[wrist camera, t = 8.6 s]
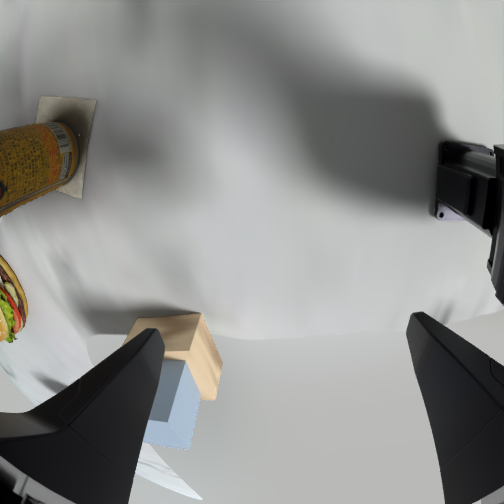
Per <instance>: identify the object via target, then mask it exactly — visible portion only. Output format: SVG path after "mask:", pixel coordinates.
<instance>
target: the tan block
mask: <svg viewBox="0 0 504 504" xmlns="http://www.w3.org/2000/svg"><path fill="white" fill-rule="evenodd" d="M146 328H157V329H158V330H159V332H160V334H161V336H162V339H163V341H164V344H165V353H164V358H163V360H174V361H186V362H187V365H188V367H189V369H190V371H191V374H192V376H193V378H194V380H195V383H196V385H197V387H198V389H199V391H200V394H201V399H200V400H216V395H217V390H218V385H219V379H220V374H221V368H222V363H223V362H222V360H221V357H220V355H219V353H218V350H217V348H216V345H215V343H214V340H213V338H212V336H211V334H210V333H209V330H208V328H207V325H206V323H205V320H204V318H203V315H202V313H197V314H186V315H175V316H163V317H150V318H138V319H137V320H136V322H135V324H134V326H133V327H132V329H131V331H130V333H129V334H128V336H127V338H126V340H125V341H124V343H123V345H124V344H126V343H127V342H128V341H130V340H131V339H132V338H134V337H135V336H136V335H138V334H139V333H140V332H142V331H143V330H144V329H146ZM123 345H122V346H123Z"/></svg>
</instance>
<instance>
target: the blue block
mask: <svg viewBox="0 0 504 504" xmlns="http://www.w3.org/2000/svg"><path fill="white" fill-rule="evenodd" d="M200 399H201V394H200V391H199V389H198V387H197V385H196V383H195V380H194V378H193V376H192V374H191V371H190V369H189V367H188V365H187V362H186V361H174V360H163V364H162V369H161V375H160V380H159V385H158V389H157V392H156V396H155V399H154V402H153V406H152V409H151V413H150V417H149V420H148V424H147V427H146V431H145V435H144V439H143V442H144V443H149V444H155V445H159V446H166V447H172V448H179V449H186V450H189V449H190V445H191V440H192V435H193V430H194V426H195V421H196V417H197V412H198V407H199V403H200Z"/></svg>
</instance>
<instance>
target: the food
mask: <svg viewBox="0 0 504 504" xmlns="http://www.w3.org/2000/svg"><path fill="white" fill-rule="evenodd" d="M27 315H28V308H27V302H26V298H25V295H24V292H23V290H22V288H21V286H20V284H19V282H18V280H17V278H16V276H15V274H14V273H13V271H12V270H11V269H10V267H9V266H8V264H7V263H6V262H5V261H4V260H3V259H2V257H1V256H0V342H1V341H3V340H6V341H8V342H9V343H11V342H13V339H12V338H14V340H16V339H17V338H15V335H14V334H16V333H17V332H21V330H22V328H23V327H24V326H25V323H26V318H27Z"/></svg>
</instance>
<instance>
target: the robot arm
mask: <svg viewBox="0 0 504 504" xmlns="http://www.w3.org/2000/svg"><path fill="white" fill-rule="evenodd" d="M444 145H446V149H444ZM489 153H490V155H489ZM494 154H495V157H494ZM440 213H442V214H441V216H439V214H440ZM435 218H436V219H438V220H439V221H466V220H467V221H468V222H470V223H471V224H473V225H474V226H475V227H477V228H478V229H480V230H481V231H483V232H484V233H485V234H487V235H488V236H489V237H491V238H492V244H491V251H490V258H489V259H488V262H487V268H488V270H489V272H490V274H491V281H492V283H493V285H494V288H495V290H496V294H495V296H496V297H497V299H498V300H499V301H500V302H501V303H502V305H503V306H504V145H494V152H493V150H492V149H489V148H484V147H479V146H474V145H469V144H463V143H457V142H450V141H441V142H440V144H439V167H438V175H437V190H436V206H435ZM406 336H407V339H408V344H409V348H410V353H411V357H412V362H413V366H414V370H415V374H416V377H417V380H418V384H419V387H420V390H421V393H422V396H423V400H424V403H425V407H426V410H427V414H428V417H429V421H430V425H431V429H432V433H433V437H434V442H435V446H436V451H437V455H438V461H439V466H440V472H441V478H442V484H443V491H444V499H445V504H472V503H474V502H476V501H478V500H480V499H481V503H482V504H504V366H503V365H501V364H499V363H498V362H497V361H495V360H494V359H493V358H490V357H489V356H488V355H487V354H485V353H484V352H482V351H481V350H479V349H478V348H477V347H475V346H474V345H472V344H471V343H469V342H468V341H466V340H465V339H463V338H462V337H460V336H459V335H457V334H456V333H454V332H453V331H452V330H450V329H448V328H447V327H445V326H444V325H442V324H441V323H439V322H438V321H436V320H435V319H433V318H432V317H430V316H429V315H427V314H426V313H424V312H414V313H412V314H411V316H410V320H409V323H408V327H407V331H406ZM164 353H165V344H164V341H163V339H162V336H161V334H160V332H159V330H158V329H157V328H146V329H144V330H143V331H142V332H140V333H139V334H138V335H136V336H135V337H134V338H132V339H131V340H130V341H128V342H127V343H126V344H124V345H123V346H122V347H120V348H119V349H118V350H116V351H115V352H114V353H112V354H111V355H110V356H108V357H107V358H106V359H104V360H103V361H102V362H100V363H99V364H98V365H96V366H95V367H94V368H92V369H91V370H90V371H88V372H87V373H86V374H84V375H83V376H82V377H81V378H79V379H78V380H76V381H75V382H74V383H72V384H71V385H69V386H68V387H67V388H65V389H64V390H62V391H61V392H59V393H58V394H56V395H55V396H53V397H51V398H50V399H48V400H47V401H45V402H43V403H42V404H40V405H38V406H37V407H35V408H34V409H32V410H30V411H27V412H24V413H4V412H0V504H128V501H129V497H130V492H131V488H132V484H133V478H134V474H135V470H136V466H137V462H138V458H139V454H140V450H141V446H142V442H143V439H144V435H145V431H146V427H147V424H148V420H149V417H150V413H151V409H152V406H153V402H154V399H155V396H156V392H157V389H158V385H159V380H160V375H161V369H162V364H163V358H164Z"/></svg>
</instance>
